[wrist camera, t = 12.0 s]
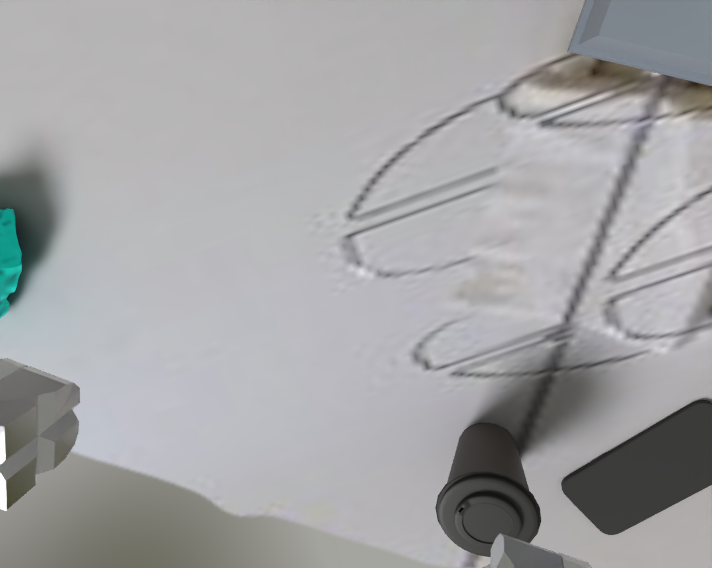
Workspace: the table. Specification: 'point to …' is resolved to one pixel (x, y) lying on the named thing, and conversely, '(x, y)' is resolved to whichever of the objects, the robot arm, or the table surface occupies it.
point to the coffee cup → (487, 492)
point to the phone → (646, 471)
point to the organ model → (8, 258)
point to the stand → (649, 36)
